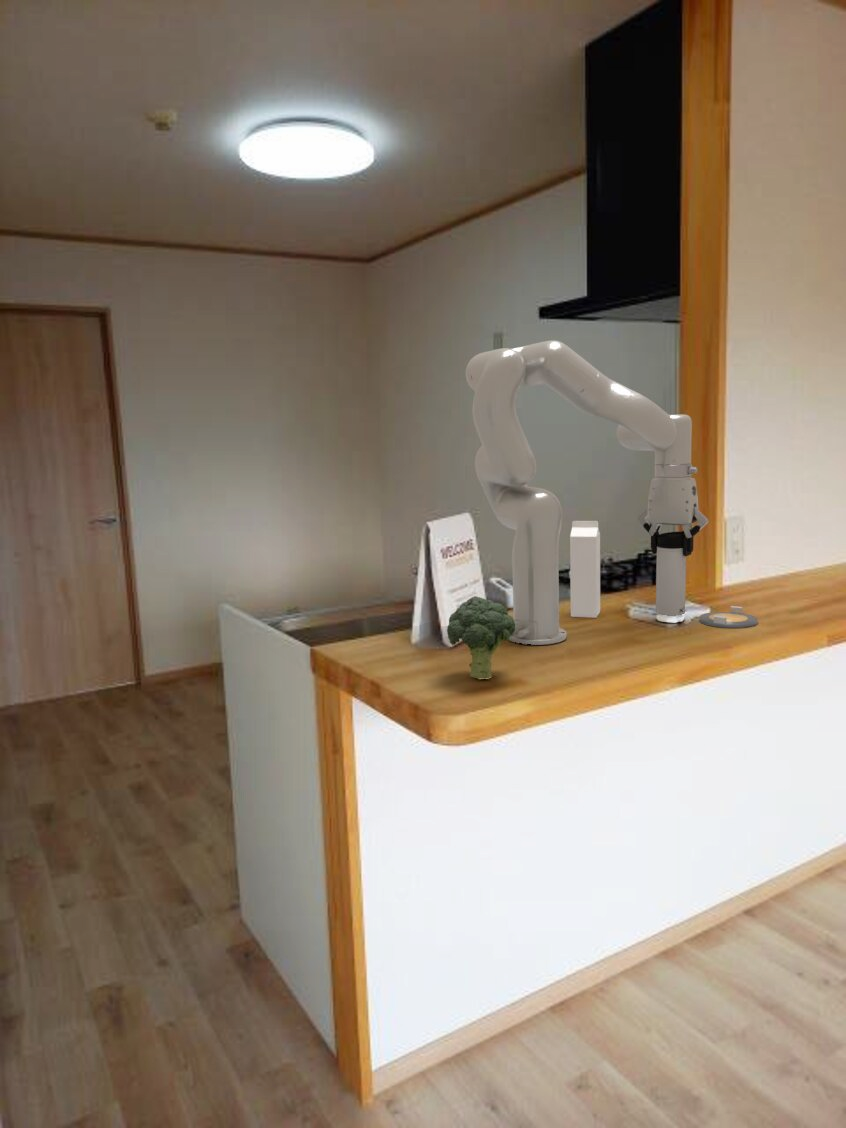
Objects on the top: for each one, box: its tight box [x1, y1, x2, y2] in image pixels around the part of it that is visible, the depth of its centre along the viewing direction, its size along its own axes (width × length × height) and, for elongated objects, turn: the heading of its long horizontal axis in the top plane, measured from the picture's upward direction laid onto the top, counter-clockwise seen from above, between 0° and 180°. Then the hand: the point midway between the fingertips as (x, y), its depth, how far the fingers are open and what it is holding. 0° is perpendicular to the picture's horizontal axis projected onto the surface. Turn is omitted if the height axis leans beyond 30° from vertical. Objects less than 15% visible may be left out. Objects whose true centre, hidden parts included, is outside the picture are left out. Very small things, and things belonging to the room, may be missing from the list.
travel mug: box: [655, 530, 687, 616], centre depth 186 cm, size 6×7×20 cm
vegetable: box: [446, 595, 516, 679], centre depth 150 cm, size 12×13×15 cm
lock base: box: [699, 605, 759, 629], centre depth 184 cm, size 12×12×2 cm
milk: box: [569, 520, 601, 619], centre depth 194 cm, size 6×6×22 cm
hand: (671, 553), depth 185 cm, fingers closed on travel mug, 6 cm apart
